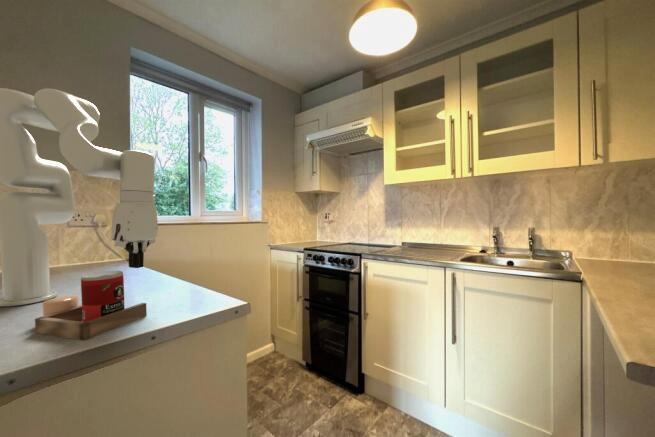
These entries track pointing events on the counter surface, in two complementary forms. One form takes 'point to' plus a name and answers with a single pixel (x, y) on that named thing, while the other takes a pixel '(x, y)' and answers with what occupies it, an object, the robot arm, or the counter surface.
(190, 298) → the counter surface
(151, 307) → the counter surface
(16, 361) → the counter surface
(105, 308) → the canned food
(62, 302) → the peach egg shape
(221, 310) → the counter surface
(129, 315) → the wooden u-shaped frame
